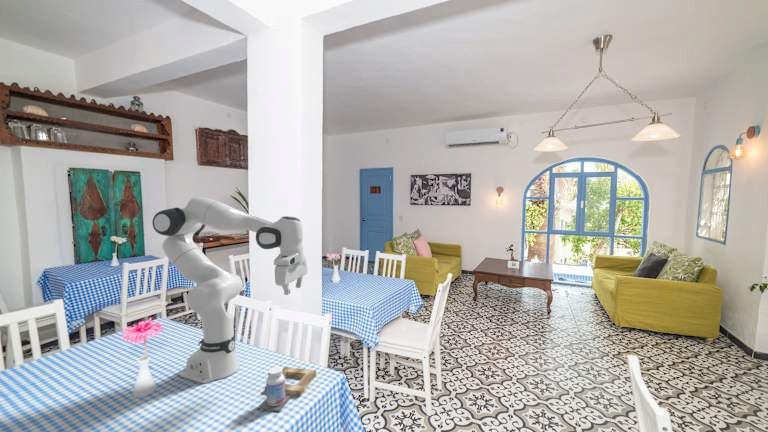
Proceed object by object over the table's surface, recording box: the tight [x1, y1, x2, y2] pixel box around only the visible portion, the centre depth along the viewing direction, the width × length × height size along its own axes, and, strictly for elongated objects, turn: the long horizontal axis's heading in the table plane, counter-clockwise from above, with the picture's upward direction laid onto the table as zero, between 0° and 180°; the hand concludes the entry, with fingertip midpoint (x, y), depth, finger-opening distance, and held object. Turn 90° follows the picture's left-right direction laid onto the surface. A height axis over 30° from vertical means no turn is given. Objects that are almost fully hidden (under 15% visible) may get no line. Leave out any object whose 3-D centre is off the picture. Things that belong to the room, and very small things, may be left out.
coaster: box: [257, 395, 292, 413], centre depth 108 cm, size 8×8×1 cm
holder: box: [264, 366, 317, 397], centre depth 120 cm, size 14×14×2 cm
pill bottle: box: [265, 366, 286, 406], centre depth 108 cm, size 6×6×11 cm
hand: (293, 290), depth 126 cm, fingers open, 8 cm apart
